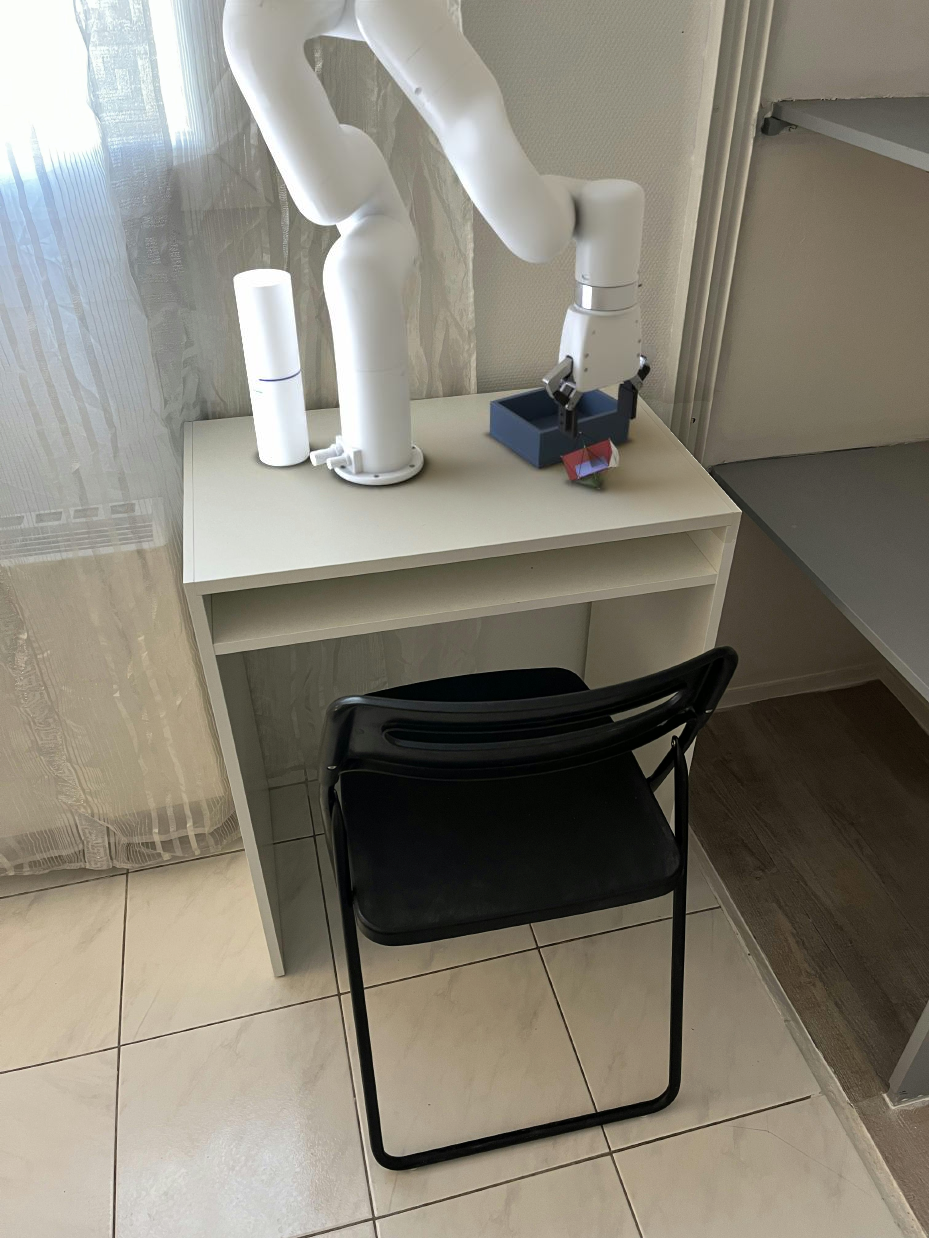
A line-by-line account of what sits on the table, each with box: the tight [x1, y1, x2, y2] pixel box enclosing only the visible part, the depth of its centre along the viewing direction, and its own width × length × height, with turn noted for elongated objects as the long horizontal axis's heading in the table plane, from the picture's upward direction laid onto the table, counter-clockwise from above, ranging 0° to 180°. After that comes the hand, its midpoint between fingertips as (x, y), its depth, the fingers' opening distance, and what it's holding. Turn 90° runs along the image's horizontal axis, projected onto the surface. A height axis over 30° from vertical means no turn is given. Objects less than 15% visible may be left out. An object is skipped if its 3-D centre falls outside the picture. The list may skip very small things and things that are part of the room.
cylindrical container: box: [233, 268, 311, 467], centre depth 127 cm, size 7×7×25 cm
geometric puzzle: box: [561, 432, 620, 490], centre depth 126 cm, size 7×7×8 cm
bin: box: [489, 382, 631, 469], centre depth 137 cm, size 16×13×5 cm
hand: (597, 425), depth 123 cm, fingers open, 9 cm apart
